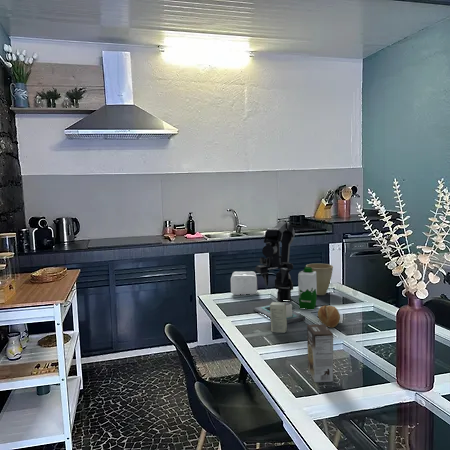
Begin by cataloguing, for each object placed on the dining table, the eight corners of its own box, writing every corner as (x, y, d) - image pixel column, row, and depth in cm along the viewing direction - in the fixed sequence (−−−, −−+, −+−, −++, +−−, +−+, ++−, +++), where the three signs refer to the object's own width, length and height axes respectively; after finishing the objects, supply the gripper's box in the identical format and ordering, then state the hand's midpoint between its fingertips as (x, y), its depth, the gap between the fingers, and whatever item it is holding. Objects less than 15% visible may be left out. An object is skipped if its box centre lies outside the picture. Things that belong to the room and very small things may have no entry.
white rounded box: (257, 290, 247) (257, 271, 246) (257, 295, 237) (256, 275, 235) (232, 290, 249) (232, 271, 248) (230, 295, 239) (230, 275, 237)
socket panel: (278, 306, 215) (277, 303, 215) (305, 319, 193) (305, 316, 193) (254, 310, 209) (253, 307, 209) (279, 325, 187) (279, 321, 187)
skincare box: (287, 329, 181) (286, 302, 180) (285, 333, 177) (284, 305, 176) (272, 328, 184) (272, 301, 182) (270, 331, 179) (269, 304, 178)
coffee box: (307, 370, 143) (306, 324, 141) (325, 369, 143) (325, 323, 141) (314, 382, 134) (313, 334, 132) (333, 381, 134) (333, 333, 132)
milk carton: (317, 305, 214) (317, 267, 212) (314, 310, 206) (314, 271, 204) (300, 304, 217) (300, 266, 215) (297, 309, 209) (296, 270, 207)
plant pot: (330, 298, 227) (330, 269, 225) (303, 295, 233) (302, 267, 231) (335, 291, 240) (335, 263, 238) (309, 289, 246) (309, 262, 245)
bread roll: (319, 329, 180) (319, 311, 180) (316, 318, 195) (316, 301, 194) (342, 329, 179) (342, 311, 178) (337, 318, 194) (337, 301, 193)
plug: (286, 316, 199) (286, 301, 198) (292, 319, 195) (291, 303, 194) (278, 318, 197) (278, 302, 196) (284, 320, 193) (283, 305, 192)
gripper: (281, 249, 218) (282, 278, 219) (249, 253, 210) (250, 283, 212) (293, 252, 208) (294, 283, 209) (260, 256, 200) (261, 288, 202)
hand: (274, 284), depth 208 cm, fingers open, 9 cm apart
